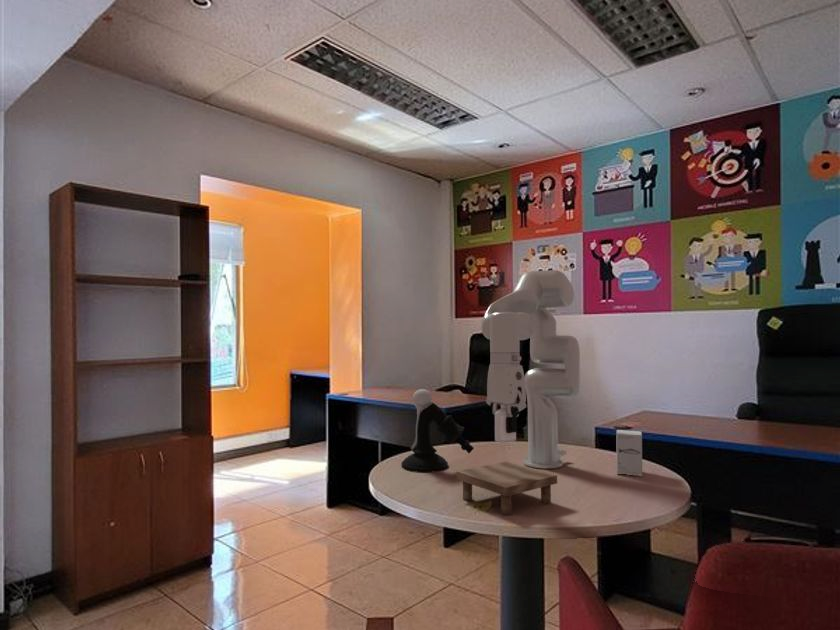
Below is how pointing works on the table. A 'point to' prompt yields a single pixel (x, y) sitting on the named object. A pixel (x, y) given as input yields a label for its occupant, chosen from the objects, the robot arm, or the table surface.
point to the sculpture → (424, 450)
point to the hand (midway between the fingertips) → (505, 430)
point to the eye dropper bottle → (502, 426)
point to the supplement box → (629, 452)
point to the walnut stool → (507, 482)
